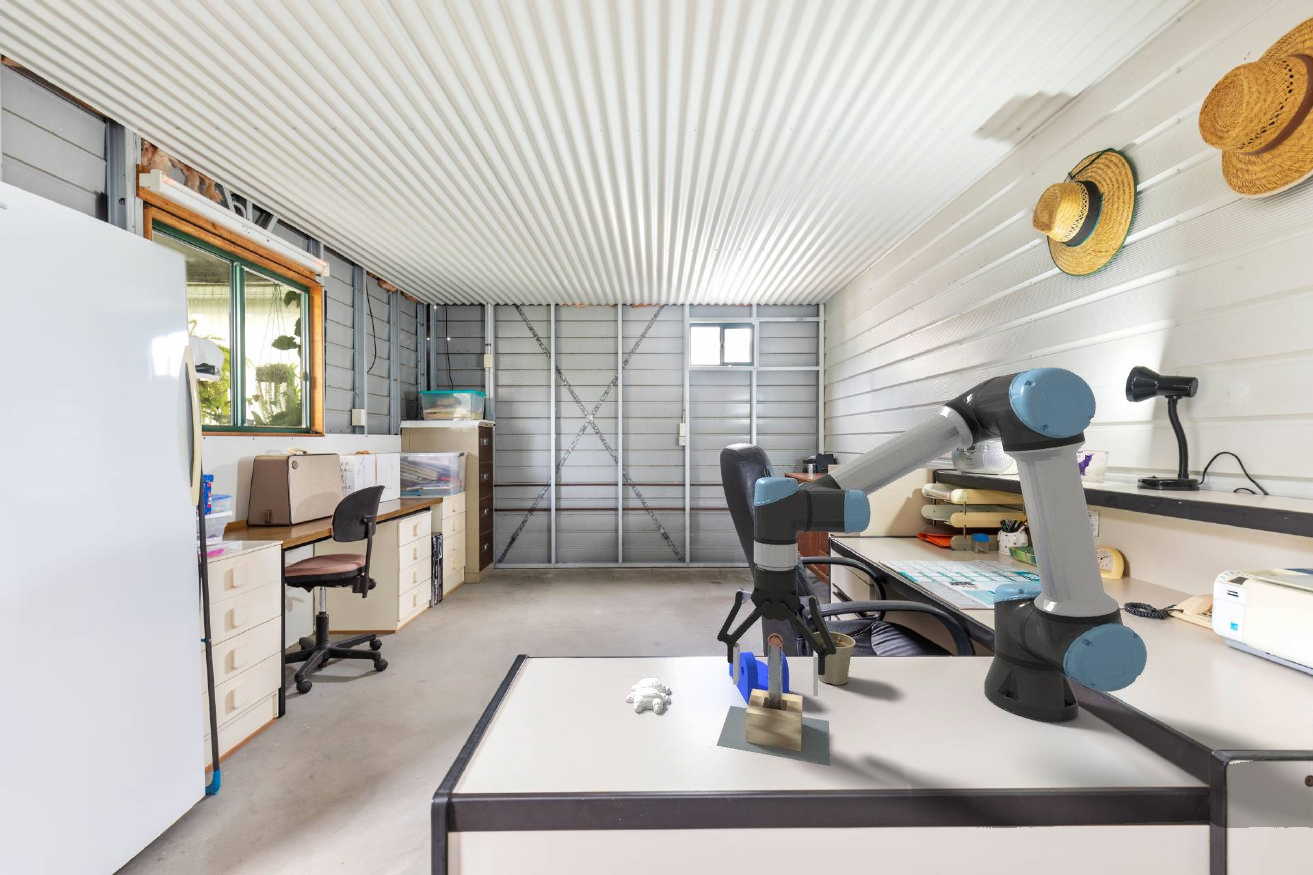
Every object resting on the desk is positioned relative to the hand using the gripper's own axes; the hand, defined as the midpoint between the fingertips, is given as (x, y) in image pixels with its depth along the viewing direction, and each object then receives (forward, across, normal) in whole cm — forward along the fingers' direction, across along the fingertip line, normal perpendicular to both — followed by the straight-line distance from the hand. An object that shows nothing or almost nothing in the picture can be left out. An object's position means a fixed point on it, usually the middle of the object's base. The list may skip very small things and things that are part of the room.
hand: (775, 687), depth 93 cm
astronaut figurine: (+9, +25, -5) cm, 27 cm away
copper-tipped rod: (+8, 0, 0) cm, 8 cm away
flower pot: (+8, -10, -26) cm, 29 cm away
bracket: (+9, +6, -18) cm, 21 cm away
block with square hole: (+8, 0, 0) cm, 8 cm away
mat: (+8, 0, 0) cm, 8 cm away
